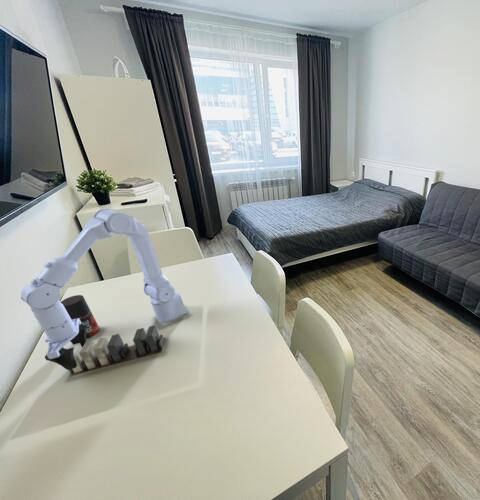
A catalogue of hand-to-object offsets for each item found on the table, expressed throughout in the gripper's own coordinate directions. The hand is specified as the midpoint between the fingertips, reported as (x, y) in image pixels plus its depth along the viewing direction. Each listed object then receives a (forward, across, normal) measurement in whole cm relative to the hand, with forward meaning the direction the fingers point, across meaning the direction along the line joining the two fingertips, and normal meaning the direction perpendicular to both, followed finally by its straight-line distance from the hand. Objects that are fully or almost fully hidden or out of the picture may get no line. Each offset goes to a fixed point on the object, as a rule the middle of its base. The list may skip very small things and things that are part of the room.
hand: (77, 358), depth 80 cm
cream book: (+3, 0, 0) cm, 3 cm away
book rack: (+4, 0, +10) cm, 11 cm away
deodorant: (+4, -16, -4) cm, 17 cm away
